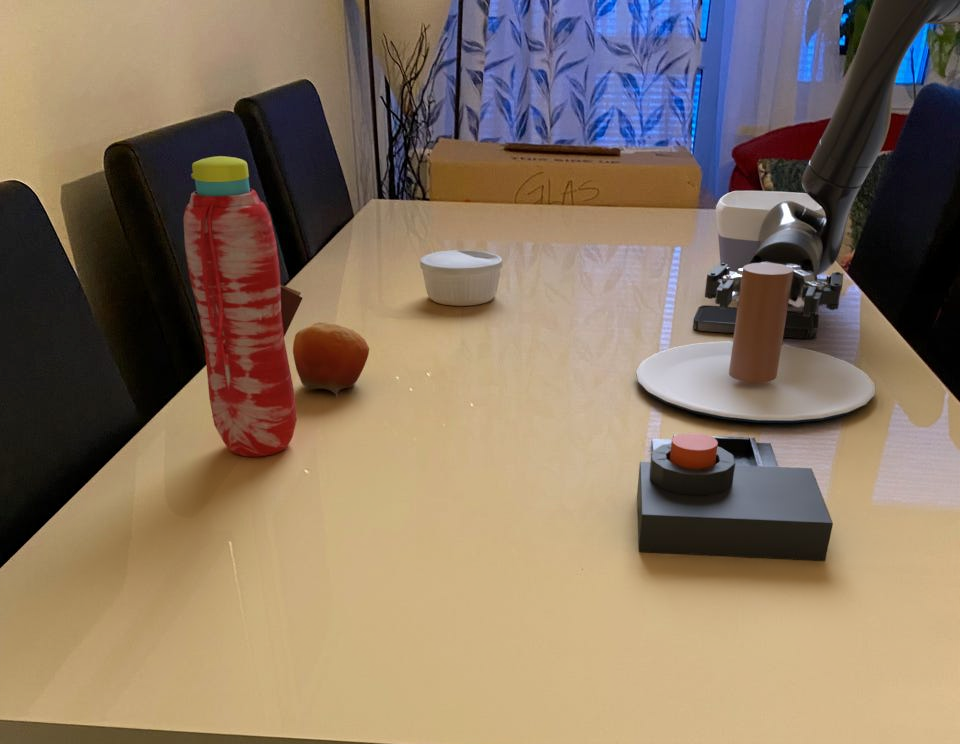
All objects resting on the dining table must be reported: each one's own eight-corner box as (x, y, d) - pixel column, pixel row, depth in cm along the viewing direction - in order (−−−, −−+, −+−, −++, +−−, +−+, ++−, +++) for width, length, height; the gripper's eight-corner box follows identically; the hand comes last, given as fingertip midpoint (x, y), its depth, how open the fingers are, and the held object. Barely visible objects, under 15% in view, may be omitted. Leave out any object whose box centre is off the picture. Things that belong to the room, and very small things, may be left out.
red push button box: (636, 494, 85) (641, 439, 82) (804, 502, 83) (815, 446, 80) (638, 552, 76) (643, 492, 73) (825, 561, 75) (838, 500, 72)
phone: (817, 330, 119) (692, 320, 123) (816, 339, 120) (691, 329, 124) (819, 312, 126) (700, 304, 129) (817, 321, 126) (699, 312, 130)
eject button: (668, 452, 81) (670, 431, 80) (713, 453, 80) (716, 433, 79) (670, 470, 78) (672, 449, 77) (717, 472, 77) (719, 451, 76)
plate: (615, 353, 116) (616, 343, 116) (823, 347, 118) (825, 337, 117) (663, 434, 96) (664, 422, 95) (914, 425, 97) (917, 413, 96)
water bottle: (259, 414, 101) (222, 143, 87) (330, 423, 99) (303, 147, 85) (195, 459, 92) (142, 163, 78) (272, 470, 89) (231, 168, 76)
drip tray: (651, 444, 94) (652, 426, 93) (769, 448, 93) (772, 430, 92) (654, 494, 85) (656, 474, 84) (785, 499, 83) (789, 480, 82)
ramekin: (514, 292, 140) (515, 253, 137) (481, 312, 132) (481, 271, 129) (444, 284, 144) (443, 246, 141) (407, 303, 136) (405, 263, 133)
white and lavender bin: (700, 292, 139) (710, 207, 133) (714, 267, 151) (724, 188, 145) (813, 300, 135) (829, 213, 129) (819, 274, 147) (833, 193, 141)
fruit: (275, 389, 103) (283, 311, 103) (304, 404, 111) (311, 332, 110) (348, 394, 101) (356, 316, 101) (372, 410, 109) (380, 337, 109)
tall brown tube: (749, 364, 109) (764, 260, 103) (786, 376, 106) (804, 269, 100) (719, 373, 106) (732, 267, 100) (756, 386, 103) (772, 277, 97)
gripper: (727, 229, 116) (701, 259, 103) (854, 237, 111) (843, 271, 99) (719, 294, 120) (693, 332, 107) (841, 305, 115) (829, 345, 103)
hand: (765, 302), depth 103 cm, fingers open, 8 cm apart
